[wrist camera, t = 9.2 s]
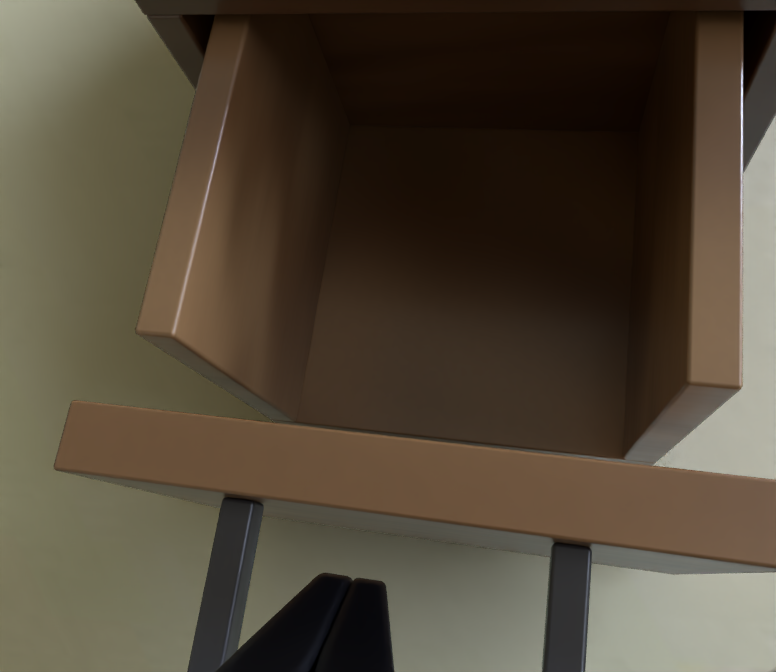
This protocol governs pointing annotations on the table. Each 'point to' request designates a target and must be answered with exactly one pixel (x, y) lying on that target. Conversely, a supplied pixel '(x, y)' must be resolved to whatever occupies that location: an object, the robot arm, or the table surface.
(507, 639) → the table surface
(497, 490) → the drawer
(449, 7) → the cabinet
